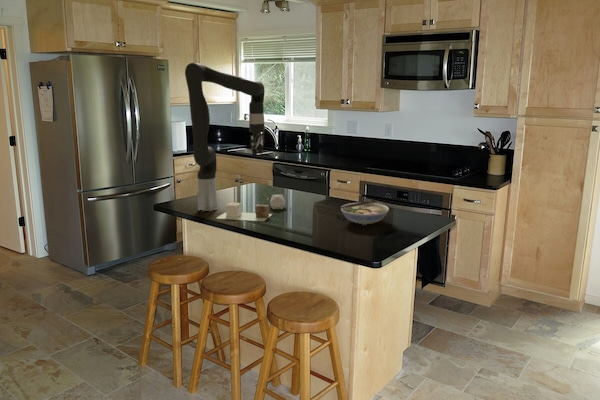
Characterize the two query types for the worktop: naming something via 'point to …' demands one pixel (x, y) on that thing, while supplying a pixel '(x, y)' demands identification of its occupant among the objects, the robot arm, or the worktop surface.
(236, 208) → the cube
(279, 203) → the die
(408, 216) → the worktop surface
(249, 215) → the white tray with block
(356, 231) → the worktop surface
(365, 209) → the ramen bowl
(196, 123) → the robot arm
